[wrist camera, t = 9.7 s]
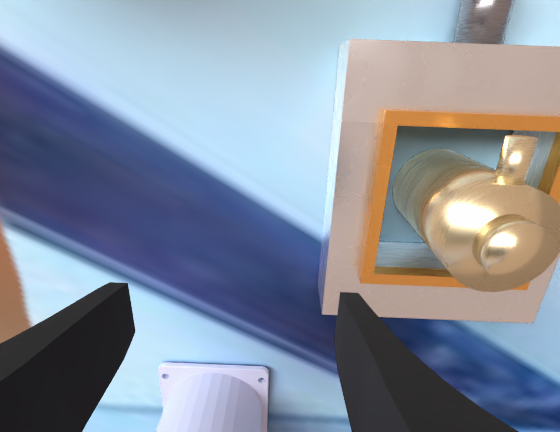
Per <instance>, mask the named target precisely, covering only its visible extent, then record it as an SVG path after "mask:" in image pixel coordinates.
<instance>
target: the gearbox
mask: <svg viewBox="0 0 560 432" xmlns="http://www.w3.org/2000/svg"><path fill="white" fill-rule="evenodd" d="M513 3H514V0H462V3H461V8H460V13H459V17H458V22H457V27H456V32H455V37H454V42H453V43H445V42H418V41H392V40H365V39H349V40H347V41H345V42H344V43H342V44H340V45H339V56H338V67H337V78H336V89H335V100H334V111H333V122H332V132H331V143H330V154H329V165H328V176H327V187H326V198H325V209H324V220H323V231H322V242H321V253H320V264H319V275H318V291H319V298H320V305H321V312H322V314H323V315H337V313H338V305H339V297H340V292H351V293H359V294H360V295H361V297H362V298H363V299H364V300H365V301H366V303H367V304H368V305H369V306H370V307H371V309H372V310H373V311H374V312H375V313H376V314H377V316H378V317H395V318H419V319H442V320H466V321H490V322H514V323H533V322H534V319H535V317H536V314H537V312H538V309H539V307H540V304H541V302H542V299H543V297H544V294H545V292H546V289H547V287H548V284H549V282H550V279H551V277H552V274H553V272H554V269H555V267H556V264H557V262H558V259H559V257H560V252H559V254H558V256H557V257H556V259H555V260H554V261H553V263H552V264H551V265H550V266H549V267H548V268H547V269H546V270H545V271H544V272H543V273H542V274H540V275H539V276H538V277H536V278H535V279H533V280H531V281H530V282H528V283H526V284H524V285H522V286H519V287H516V288H513V289H510V290H506V291H499V292H483V291H477V290H474V289H471V288H468V287H466V286H464V285H463V284H461V283H460V282H458V281H457V280H456V279H455V278H454V277H453V276H452V274H451V273H450V272H449V271H448V270H447V268H446V267H445V266H444V265H443V264H442V262H441V261H440V260H439V259H438V258H437V256H436V255H435V254H434V253H433V251H432V250H431V249H430V248H429V247H428V245H427V244H426V243H404V242H379V238H380V232H381V226H382V220H383V214H384V208H385V201H386V195H387V189H388V183H389V177H390V171H391V165H392V159H393V153H394V146H395V140H396V134H397V128H398V126H422V127H447V128H473V129H499V130H513V134H512V135H522V136H531V137H536V138H538V141H537V145H536V148H535V151H534V155H533V158H532V161H531V165H530V168H529V171H528V175H527V178H526V182H525V184H527V185H529V186H531V187H534V188H536V189H538V190H540V191H542V192H544V193H546V194H548V195H550V196H551V197H552V198H553V199H555V200H556V201H557V203H558V204H559V205H560V47H552V46H525V45H503V42H504V38H505V34H506V30H507V26H508V23H509V19H510V15H511V11H512V7H513Z"/></svg>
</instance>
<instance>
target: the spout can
mask: <svg viewBox="0 0 560 432" xmlns="http://www.w3.org/2000/svg"><path fill="white" fill-rule="evenodd" d="M537 141H538V138H536V137H531V136H522V135H506V136H505V138H504V142H503V146H502V150H501V153H500V157H499V161H498V165H497V169H496V170H494V169H492V168H490V167H487V166H485V165H483V164H481V163H479V162H476V161H474V160H472V159H470V158H468V157H465V156H463V155H461V154H459V153H457V152H454V151H452V150H448V149H441V148H439V149H430V150H426V151H423V152H421V153H419V154H417V155H415V156H413V157H412V158H411V159H409V160H408V161H407V162H406V163H405V164H404V165H403V166H402V168H401V169H400V170H399V172H398V174H397V176H396V178H395V181H394V185H393V199H394V202H395V205H396V207H397V209H398V210H399V211H400V213H401V214H402V215H403V216H404V218H405V219H406V220H407V221H408V222H409V224H410V225H411V226H412V227H413V228H414V230H415V231H416V232H417V233H418V235H419V236H420V237H421V238H422V239H423V241H424V242H425V243H426V244H427V245H428V247H429V248H430V249H431V250H432V251H433V253H434V254H435V255H436V256H437V258H438V259H439V260H440V261H441V262H442V264H443V265H444V266H445V267H446V268H447V270H448V271H449V272H450V273H451V274H452V276H453V277H454V278H455V279H456V280H457V281H458V282H460V283H461V284H463V285H464V286H466V287H468V288H471V289H474V290H477V291H483V292H499V291H506V290H510V289H513V288H516V287H519V286H522V285H524V284H526V283H528V282H530V281H531V280H533V279H535V278H536V277H538V276H539V275H540V274H542V273H543V272H544V271H545V270H546V269H547V268H548V267H549V266H550V265H551V264H552V263H553V261H554V260H555V259H556V257H557V256H558V254H559V252H560V205H559V204H558V203H557V201H556V200H555V199H553V198H552V197H551V196H550V195H548V194H546V193H544V192H542V191H540V190H538V189H536V188H534V187H531V186H529V185H527V184H525V182H526V178H527V175H528V171H529V168H530V165H531V161H532V158H533V155H534V151H535V148H536V145H537Z"/></svg>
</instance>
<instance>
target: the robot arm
mask: <svg viewBox="0 0 560 432" xmlns="http://www.w3.org/2000/svg"><path fill="white" fill-rule="evenodd" d="M134 334H135V326H134V320H133V313H132V307H131V301H130V295H129V289H128V283H111V282H110V283H108V284H106V285H104V286H102V287H100V288H98V289H97V290H95V291H93V292H91V293H90V294H88V295H86V296H85V297H83V298H81V299H80V300H78V301H76V302H75V303H73V304H71V305H70V306H68V307H66V308H64V309H63V310H61V311H59V312H58V313H56V314H54V315H53V316H51V317H49V318H47V319H45V320H44V321H42V322H40V323H38V324H36V325H35V326H33V327H31V328H29V329H27V330H26V331H24V332H22V333H20V334H18V335H16V336H15V337H12V338H11V339H9V340H7V341H5V342H3V343H1V344H0V432H82V431H83V429H84V427H85V425H86V423H87V422H88V420H89V418H90V417H91V415H92V413H93V411H94V410H95V408H96V406H97V405H98V403H99V401H100V400H101V398H102V396H103V394H104V393H105V391H106V389H107V388H108V386H109V384H110V383H111V381H112V379H113V377H114V376H115V374H116V372H117V370H118V369H119V367H120V365H121V363H122V361H123V360H124V358H125V355H126V353H127V351H128V348H129V346H130V344H131V341H132V339H133V336H134ZM334 342H335V352H336V361H337V369H338V374H339V378H340V383H341V387H342V391H343V396H344V400H345V404H346V409H347V413H348V417H349V422H350V426H351V430H352V432H518V431H517V430H515V429H513V428H512V427H510V426H509V425H507V424H505V423H504V422H502V421H501V420H499V419H497V418H496V417H494V416H493V415H491V414H490V413H488V412H487V411H485V410H484V409H482V408H481V407H479V406H478V405H477V404H475V403H474V402H472V401H471V400H470V399H468V398H467V397H466V396H464V395H463V394H461V393H460V392H459V391H457V390H456V389H455V388H453V387H452V386H451V385H449V384H448V383H447V382H446V381H444V380H443V379H442V378H441V377H440V376H438V375H437V374H436V373H435V372H434V371H432V370H431V369H430V368H429V367H428V366H426V365H425V364H424V363H423V362H422V361H421V360H420V359H419V358H417V357H416V356H415V355H414V354H413V353H412V352H411V351H410V350H409V349H408V348H407V347H406V346H405V345H404V344H403V343H402V342H401V341H400V340H399V339H398V338H397V337H396V336H395V335H394V334H393V332H392V331H391V330H390V329H389V328H388V327H387V326H386V325H385V324H384V323H383V321H382V320H381V319H380V318H379V317H378V316H377V314H376V313H375V312H374V311H373V310H372V309H371V307H370V306H369V305H368V304H367V303H366V301H365V300H364V299H363V298H362V297H361V295H360V294H359V293H351V292H340V297H339V305H338V313H337V321H336V330H335V338H334ZM158 373H159V381H160V388H161V395H162V403H163V412H162V415H161V418H160V421H159V423H158V426H157V429H156V431H155V432H267V416H268V383H269V370H268V369H267V368H266V367H263V366H243V365H219V364H196V363H173V362H163V363H161V364H160V366H159V368H158ZM167 374H168V375H167ZM261 378H264V379H261Z"/></svg>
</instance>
